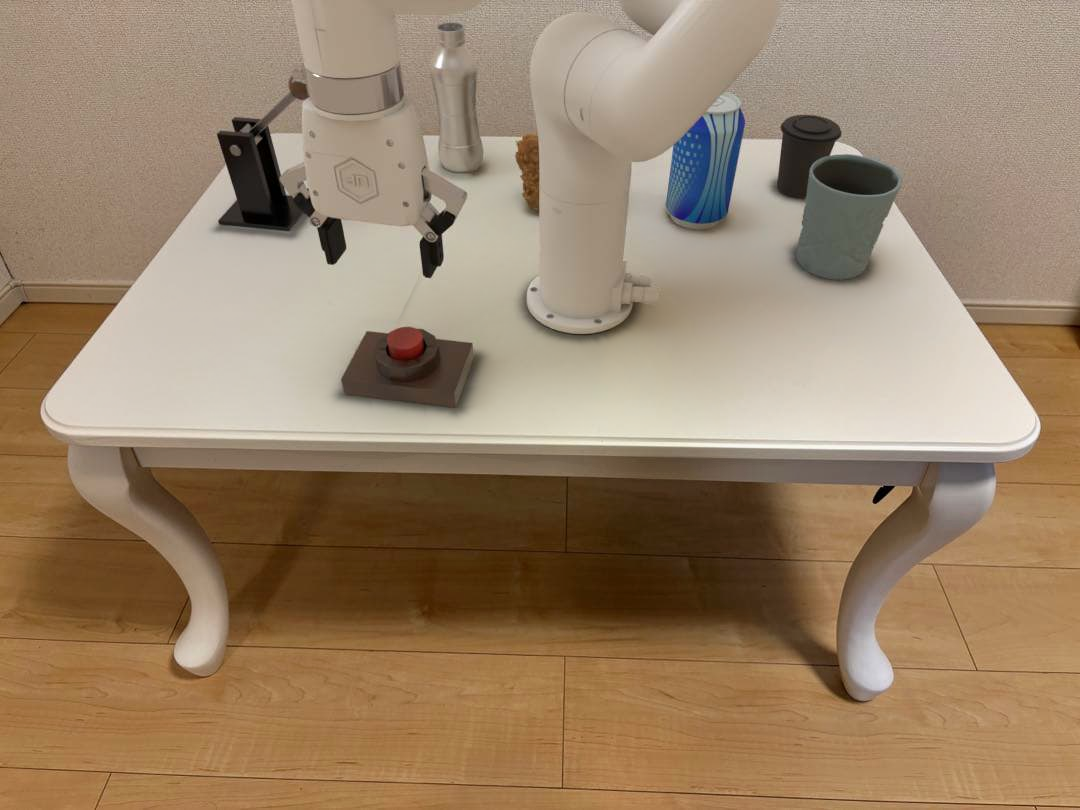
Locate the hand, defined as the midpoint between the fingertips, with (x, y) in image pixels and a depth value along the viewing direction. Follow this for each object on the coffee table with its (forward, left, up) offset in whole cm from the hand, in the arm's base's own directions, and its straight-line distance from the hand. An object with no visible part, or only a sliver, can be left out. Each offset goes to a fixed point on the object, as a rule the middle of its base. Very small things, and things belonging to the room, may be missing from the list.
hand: (384, 263), depth 74 cm
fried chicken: (-12, -37, -13) cm, 41 cm away
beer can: (-30, -37, -13) cm, 49 cm away
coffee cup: (-44, -47, -13) cm, 66 cm away
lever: (+22, -27, 0) cm, 34 cm away
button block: (-1, +1, -13) cm, 13 cm away
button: (-1, +1, -10) cm, 10 cm away
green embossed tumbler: (-47, -29, -13) cm, 57 cm away
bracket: (+28, -27, -13) cm, 41 cm away
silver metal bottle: (+5, -45, -13) cm, 47 cm away
